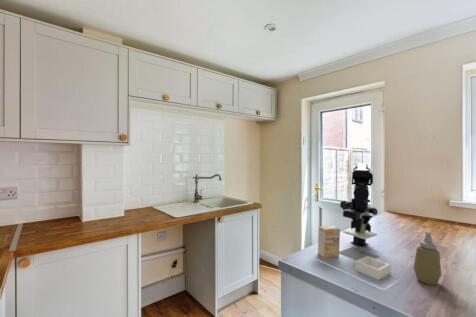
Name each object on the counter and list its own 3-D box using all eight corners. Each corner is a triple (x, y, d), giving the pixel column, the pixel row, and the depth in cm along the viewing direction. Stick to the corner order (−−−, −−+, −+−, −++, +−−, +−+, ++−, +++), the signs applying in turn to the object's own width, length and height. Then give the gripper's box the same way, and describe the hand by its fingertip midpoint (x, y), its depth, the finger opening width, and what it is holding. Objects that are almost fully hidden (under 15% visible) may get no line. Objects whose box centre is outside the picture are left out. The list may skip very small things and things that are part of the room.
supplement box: (323, 259, 105) (324, 229, 105) (317, 254, 110) (318, 226, 110) (339, 257, 107) (340, 228, 107) (332, 252, 112) (333, 225, 112)
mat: (352, 247, 119) (352, 246, 119) (379, 257, 108) (379, 256, 108) (336, 253, 111) (336, 252, 111) (364, 264, 101) (364, 263, 101)
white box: (367, 265, 100) (367, 255, 100) (390, 274, 92) (390, 264, 92) (355, 270, 95) (355, 261, 95) (379, 281, 87) (379, 270, 87)
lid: (355, 229, 115) (355, 219, 115) (376, 235, 106) (377, 224, 106) (343, 232, 109) (343, 222, 109) (365, 239, 101) (365, 228, 101)
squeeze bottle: (428, 275, 92) (429, 229, 92) (447, 287, 84) (449, 236, 84) (407, 275, 92) (409, 229, 92) (424, 287, 84) (426, 236, 84)
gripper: (355, 192, 119) (354, 223, 120) (332, 195, 109) (331, 229, 109) (378, 196, 110) (377, 230, 110) (356, 199, 100) (355, 236, 100)
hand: (359, 231), depth 108 cm, fingers closed on lid, 3 cm apart
